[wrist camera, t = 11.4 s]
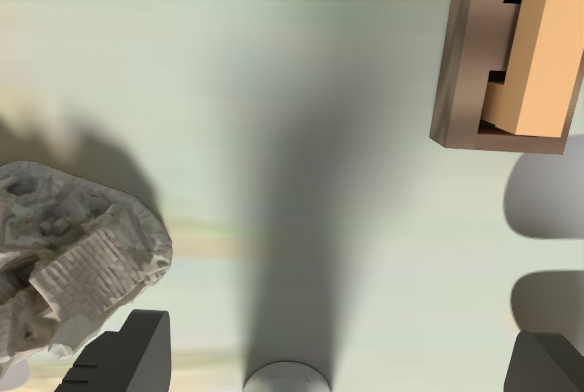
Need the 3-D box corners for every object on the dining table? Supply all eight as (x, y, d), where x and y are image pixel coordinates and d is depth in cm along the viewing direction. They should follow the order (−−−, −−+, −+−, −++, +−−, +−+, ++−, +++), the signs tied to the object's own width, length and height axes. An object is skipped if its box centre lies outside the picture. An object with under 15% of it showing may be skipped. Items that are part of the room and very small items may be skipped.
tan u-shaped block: (499, -47, 32) (563, -75, 25) (539, -44, 32) (615, -71, 25) (468, 116, 36) (515, 134, 29) (504, 118, 36) (560, 137, 29)
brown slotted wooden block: (535, 143, 37) (562, 154, 33) (429, 137, 37) (445, 148, 33) (587, -73, 32) (627, -89, 28) (464, -81, 32) (488, -99, 28)
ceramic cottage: (190, 281, 41) (121, 395, 27) (39, 324, 44) (-99, 451, 29) (121, 122, 37) (-3, 156, 23) (-40, 179, 40) (-245, 242, 25)
